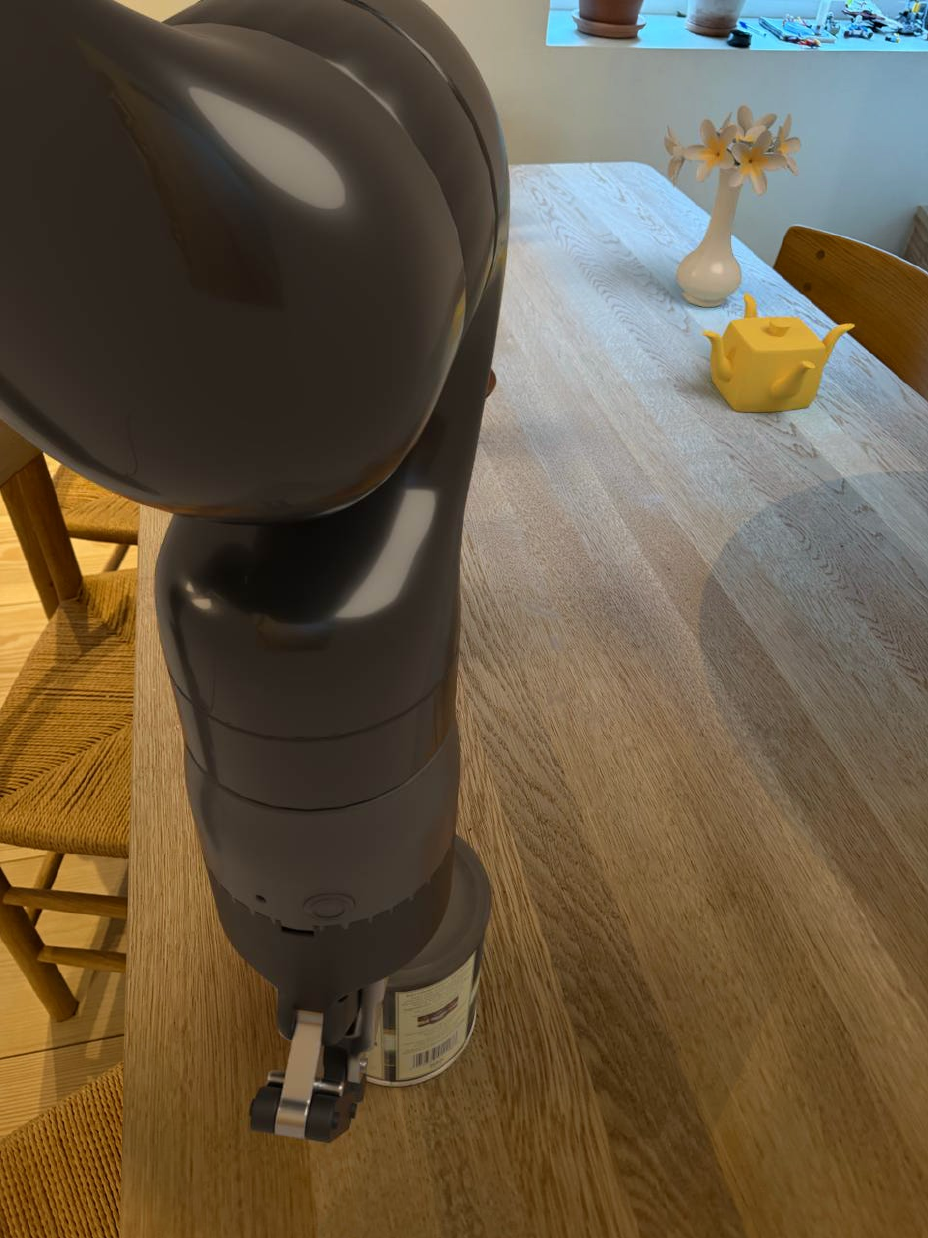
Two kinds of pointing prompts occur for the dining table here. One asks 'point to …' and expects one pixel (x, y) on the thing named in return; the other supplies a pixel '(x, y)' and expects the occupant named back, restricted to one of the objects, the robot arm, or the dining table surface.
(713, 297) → the flower vase
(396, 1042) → the coffee can
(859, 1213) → the dining table surface
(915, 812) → the dining table surface
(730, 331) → the teapot
